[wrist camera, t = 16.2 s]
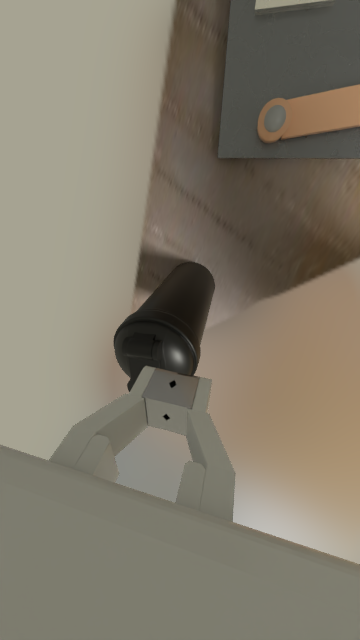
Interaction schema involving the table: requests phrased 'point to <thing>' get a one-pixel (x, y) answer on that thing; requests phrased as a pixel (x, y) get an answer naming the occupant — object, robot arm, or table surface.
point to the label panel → (287, 72)
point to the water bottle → (167, 325)
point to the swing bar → (310, 114)
